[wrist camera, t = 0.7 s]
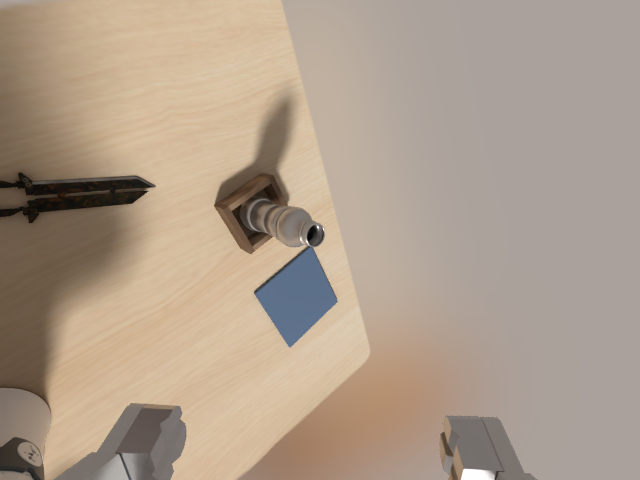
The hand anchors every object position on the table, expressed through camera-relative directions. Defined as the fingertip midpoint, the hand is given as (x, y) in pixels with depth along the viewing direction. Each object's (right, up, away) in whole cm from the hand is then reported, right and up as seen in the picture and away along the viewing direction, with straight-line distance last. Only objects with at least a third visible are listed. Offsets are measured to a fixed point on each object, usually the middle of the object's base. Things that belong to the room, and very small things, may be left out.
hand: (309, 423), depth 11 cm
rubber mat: (-4, -7, +69) cm, 70 cm away
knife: (-36, +12, +37) cm, 53 cm away
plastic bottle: (-13, +11, +56) cm, 59 cm away
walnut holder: (-13, +11, +56) cm, 59 cm away
